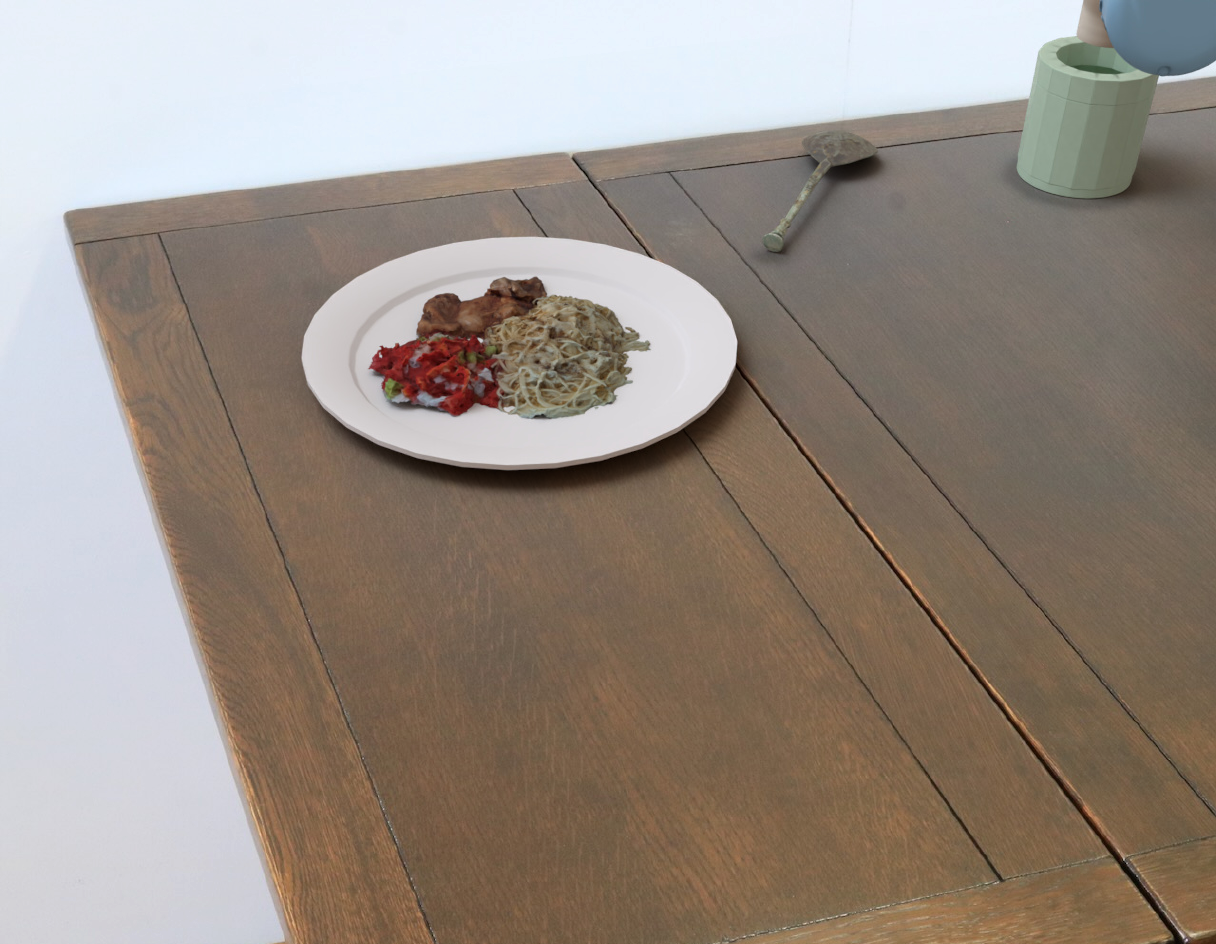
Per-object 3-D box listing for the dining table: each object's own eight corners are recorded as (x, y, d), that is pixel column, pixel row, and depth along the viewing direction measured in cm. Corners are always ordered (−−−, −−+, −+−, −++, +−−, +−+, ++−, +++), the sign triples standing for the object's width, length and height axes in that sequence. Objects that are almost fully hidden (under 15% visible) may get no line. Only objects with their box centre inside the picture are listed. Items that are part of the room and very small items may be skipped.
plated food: (812, 335, 108) (817, 293, 105) (572, 548, 89) (572, 503, 87) (483, 223, 120) (481, 184, 118) (212, 390, 101) (204, 347, 99)
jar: (1142, 164, 130) (1172, 49, 123) (1115, 208, 123) (1145, 89, 117) (1034, 141, 133) (1057, 28, 126) (1002, 183, 127) (1025, 66, 120)
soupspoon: (885, 159, 131) (814, 149, 134) (889, 121, 129) (816, 112, 132) (810, 260, 116) (730, 247, 118) (813, 218, 114) (731, 206, 116)
